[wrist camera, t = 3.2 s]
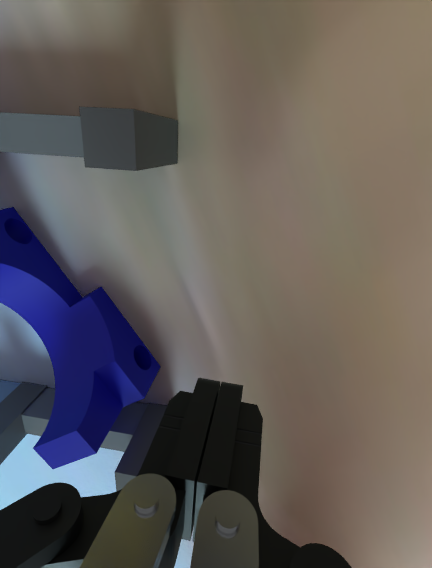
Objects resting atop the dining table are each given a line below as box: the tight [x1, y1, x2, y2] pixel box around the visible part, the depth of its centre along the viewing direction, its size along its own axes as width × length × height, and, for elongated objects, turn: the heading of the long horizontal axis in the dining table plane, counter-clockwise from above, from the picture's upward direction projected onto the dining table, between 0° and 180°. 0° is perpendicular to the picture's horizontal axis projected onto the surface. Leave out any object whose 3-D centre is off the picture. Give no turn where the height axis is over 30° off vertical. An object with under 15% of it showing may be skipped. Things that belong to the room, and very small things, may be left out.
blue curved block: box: [0, 207, 161, 469], centre depth 17 cm, size 12×4×6 cm, turn 32°
